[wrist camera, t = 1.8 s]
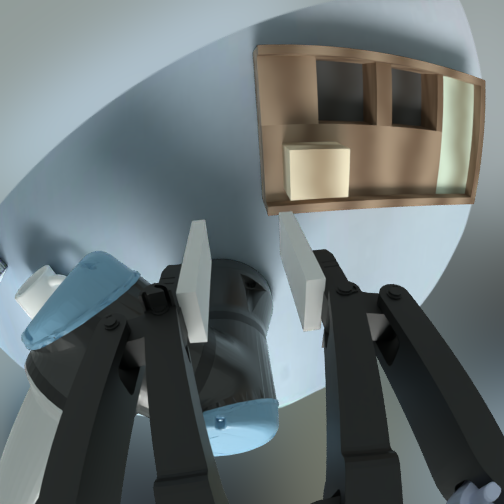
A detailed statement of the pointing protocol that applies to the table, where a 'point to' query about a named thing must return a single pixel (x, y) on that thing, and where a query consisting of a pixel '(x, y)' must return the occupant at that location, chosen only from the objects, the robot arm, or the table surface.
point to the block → (315, 170)
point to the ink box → (2, 269)
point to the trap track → (370, 125)
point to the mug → (38, 290)
